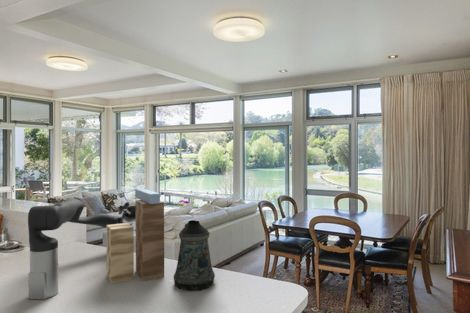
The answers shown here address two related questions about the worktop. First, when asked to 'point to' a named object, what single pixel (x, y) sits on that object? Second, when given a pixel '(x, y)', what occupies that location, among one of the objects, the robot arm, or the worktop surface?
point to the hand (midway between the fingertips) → (136, 203)
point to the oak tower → (120, 252)
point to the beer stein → (194, 259)
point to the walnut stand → (149, 239)
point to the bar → (147, 196)
